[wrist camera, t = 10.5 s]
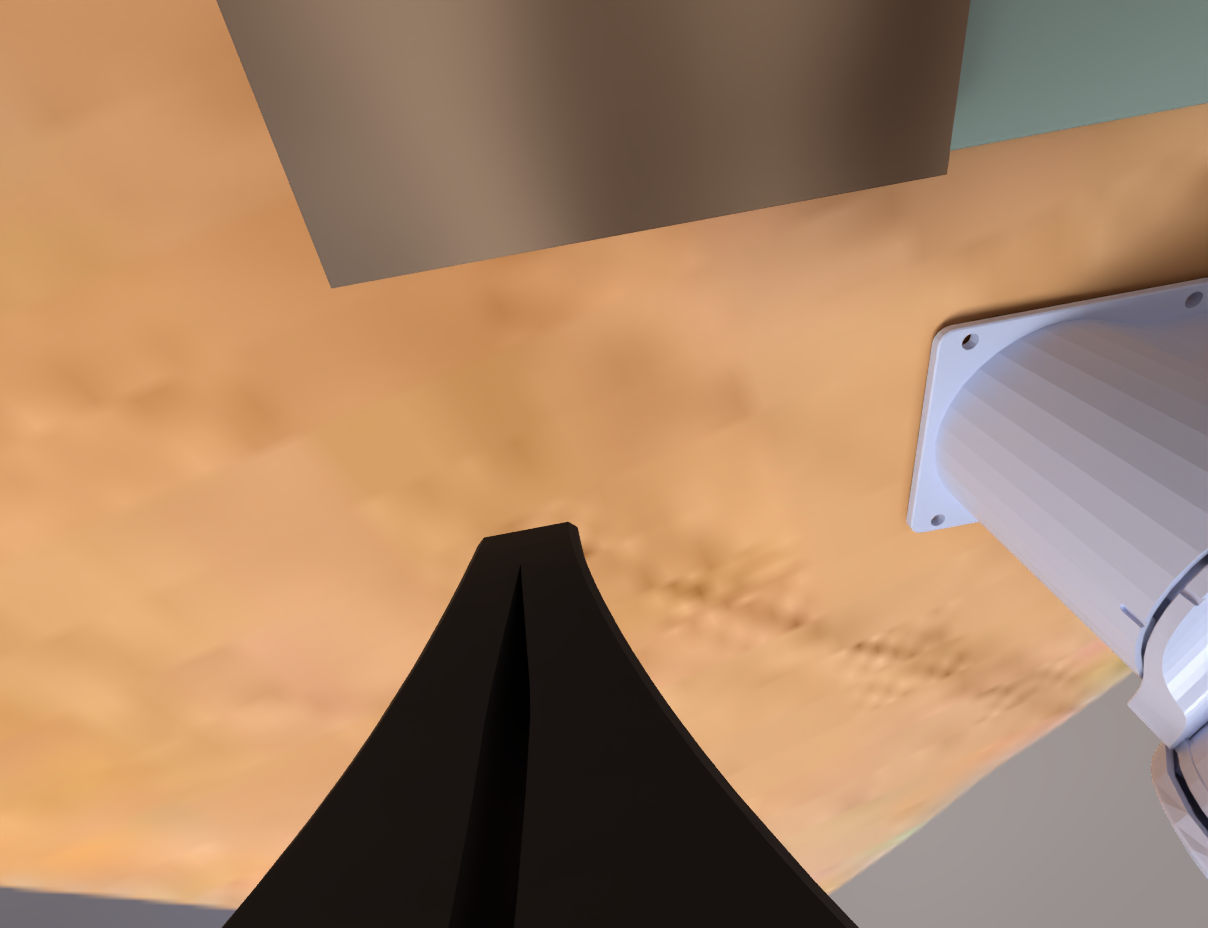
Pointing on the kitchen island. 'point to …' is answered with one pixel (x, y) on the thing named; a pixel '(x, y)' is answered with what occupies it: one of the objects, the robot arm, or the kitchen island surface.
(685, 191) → the board
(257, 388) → the kitchen island surface
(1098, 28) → the mat
